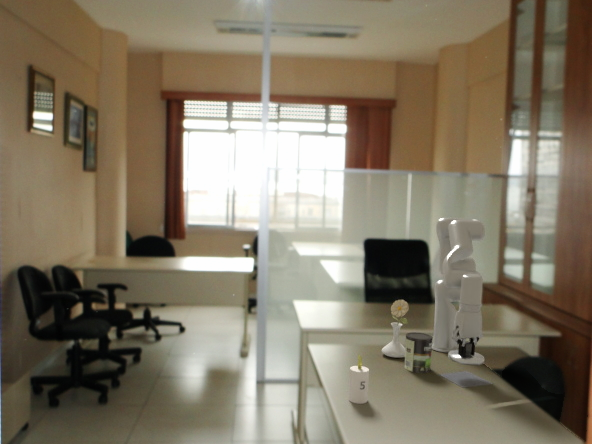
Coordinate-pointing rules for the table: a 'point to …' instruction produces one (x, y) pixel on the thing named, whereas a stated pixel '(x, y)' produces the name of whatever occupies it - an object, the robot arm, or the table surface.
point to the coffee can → (418, 352)
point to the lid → (466, 356)
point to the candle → (358, 383)
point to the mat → (465, 379)
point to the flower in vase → (397, 330)
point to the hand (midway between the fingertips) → (466, 354)
